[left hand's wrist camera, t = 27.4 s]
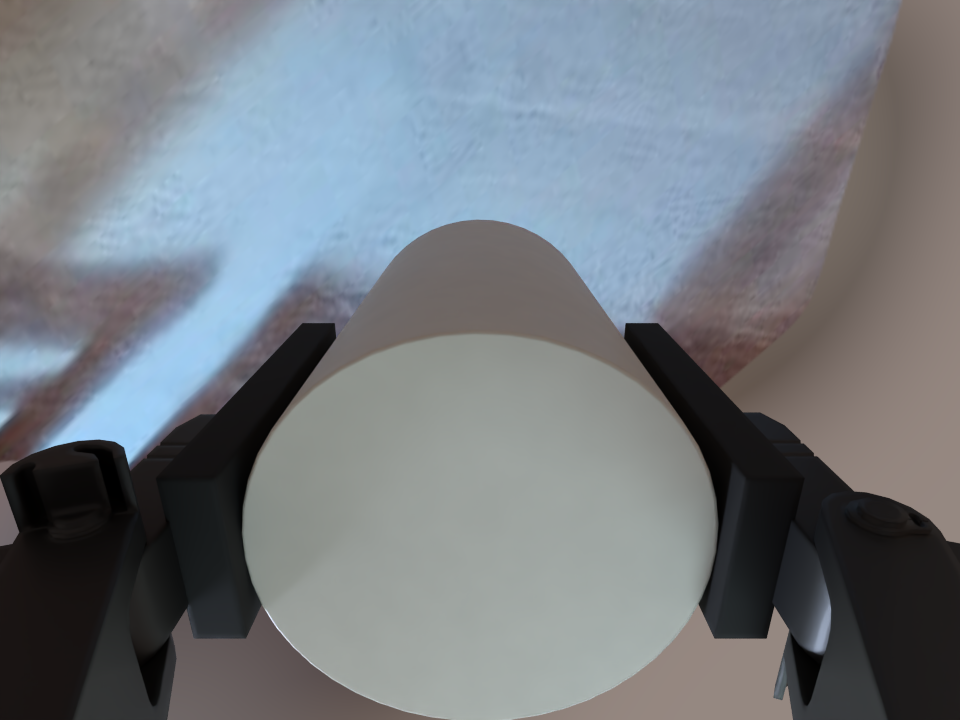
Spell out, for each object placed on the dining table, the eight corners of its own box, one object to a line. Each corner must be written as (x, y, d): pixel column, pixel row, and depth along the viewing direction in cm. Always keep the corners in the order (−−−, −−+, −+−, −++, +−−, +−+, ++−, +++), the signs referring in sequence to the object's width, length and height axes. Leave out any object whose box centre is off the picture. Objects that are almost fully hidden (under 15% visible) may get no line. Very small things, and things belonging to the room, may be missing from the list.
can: (345, 239, 16) (170, 372, 7) (581, 202, 16) (719, 292, 7) (393, 444, 19) (310, 743, 10) (599, 416, 19) (720, 698, 9)
